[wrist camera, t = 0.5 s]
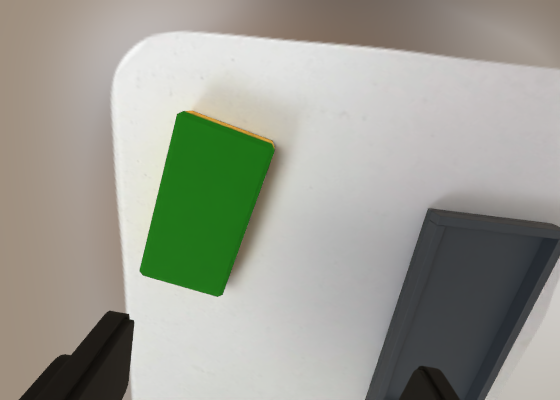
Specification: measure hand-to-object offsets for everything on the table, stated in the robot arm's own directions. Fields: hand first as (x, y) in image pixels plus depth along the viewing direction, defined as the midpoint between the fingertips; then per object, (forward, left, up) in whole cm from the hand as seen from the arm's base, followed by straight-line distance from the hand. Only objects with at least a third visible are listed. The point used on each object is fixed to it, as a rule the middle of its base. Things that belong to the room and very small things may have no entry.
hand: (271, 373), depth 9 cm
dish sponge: (-1, -5, -16) cm, 17 cm away
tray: (+14, +16, -15) cm, 26 cm away
